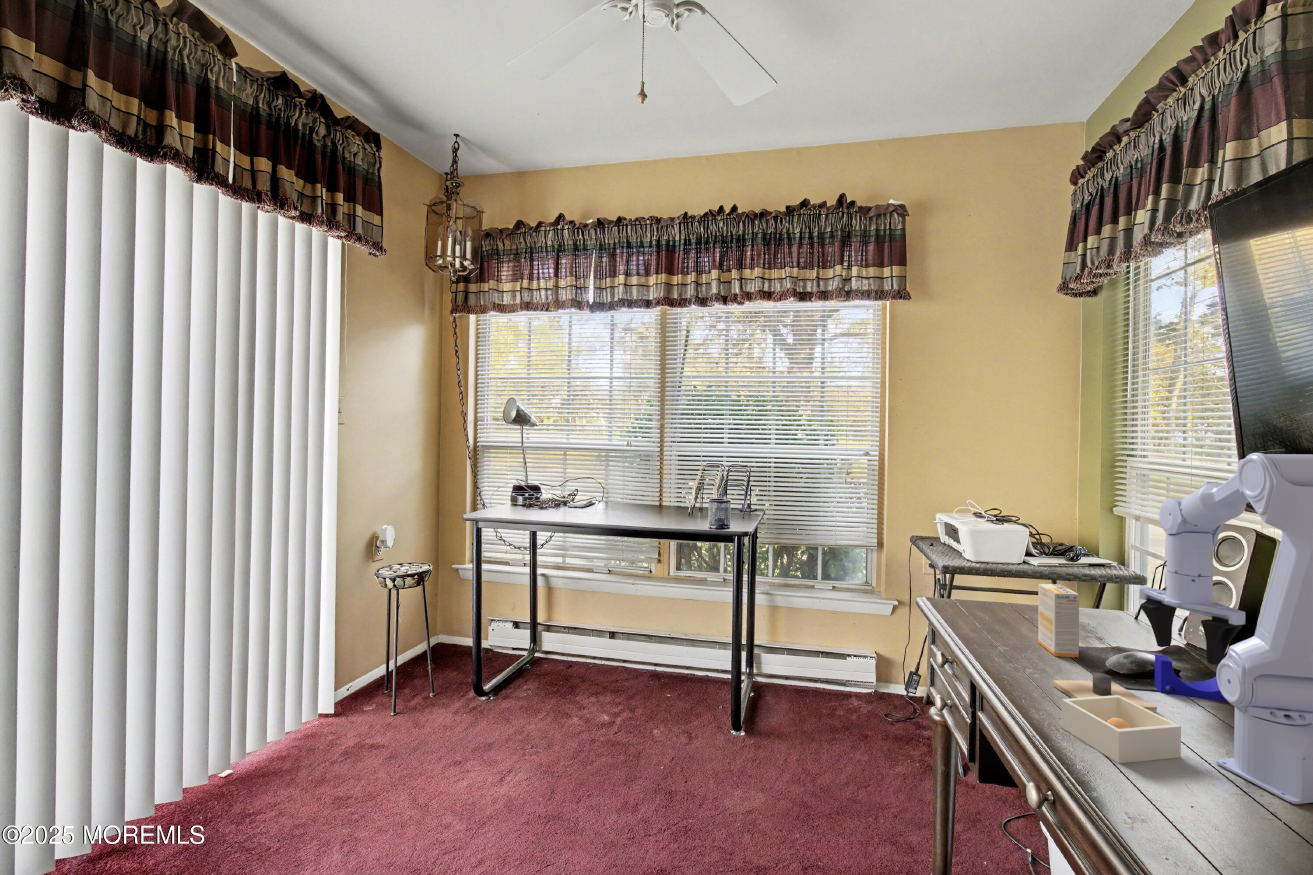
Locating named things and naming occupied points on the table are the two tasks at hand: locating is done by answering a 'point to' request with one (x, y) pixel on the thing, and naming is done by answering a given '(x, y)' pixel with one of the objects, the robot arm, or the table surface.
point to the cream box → (1132, 744)
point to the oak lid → (1099, 689)
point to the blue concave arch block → (1183, 683)
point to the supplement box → (1058, 620)
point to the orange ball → (1118, 723)
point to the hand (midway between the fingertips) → (1188, 654)
